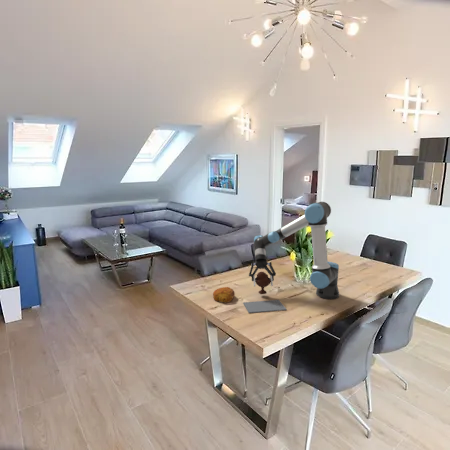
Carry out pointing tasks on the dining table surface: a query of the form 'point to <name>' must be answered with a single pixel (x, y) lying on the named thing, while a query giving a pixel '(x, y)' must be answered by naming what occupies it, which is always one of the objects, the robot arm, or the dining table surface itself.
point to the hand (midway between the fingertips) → (263, 285)
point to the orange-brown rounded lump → (223, 294)
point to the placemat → (264, 306)
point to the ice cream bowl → (262, 281)
